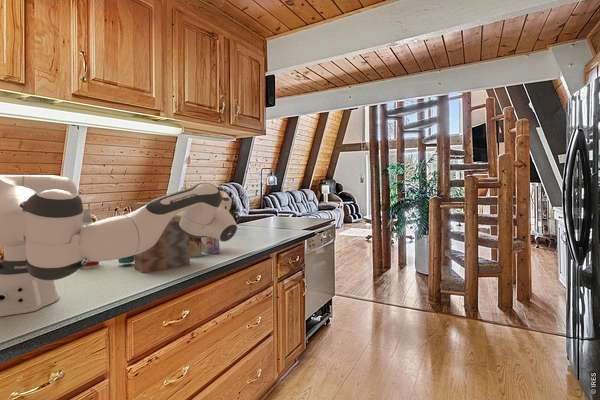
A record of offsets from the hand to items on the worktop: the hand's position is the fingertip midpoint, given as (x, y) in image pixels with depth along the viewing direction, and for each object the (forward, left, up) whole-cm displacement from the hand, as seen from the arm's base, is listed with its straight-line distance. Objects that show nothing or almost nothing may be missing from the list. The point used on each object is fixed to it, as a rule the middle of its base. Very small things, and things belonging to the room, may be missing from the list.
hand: (194, 188), depth 131 cm
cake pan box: (+23, +38, -35) cm, 56 cm away
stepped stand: (-5, +22, -34) cm, 41 cm away
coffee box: (+13, +33, -35) cm, 50 cm away
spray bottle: (-29, +43, -35) cm, 62 cm away
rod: (0, +19, -14) cm, 24 cm away
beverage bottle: (-16, +35, -35) cm, 52 cm away
